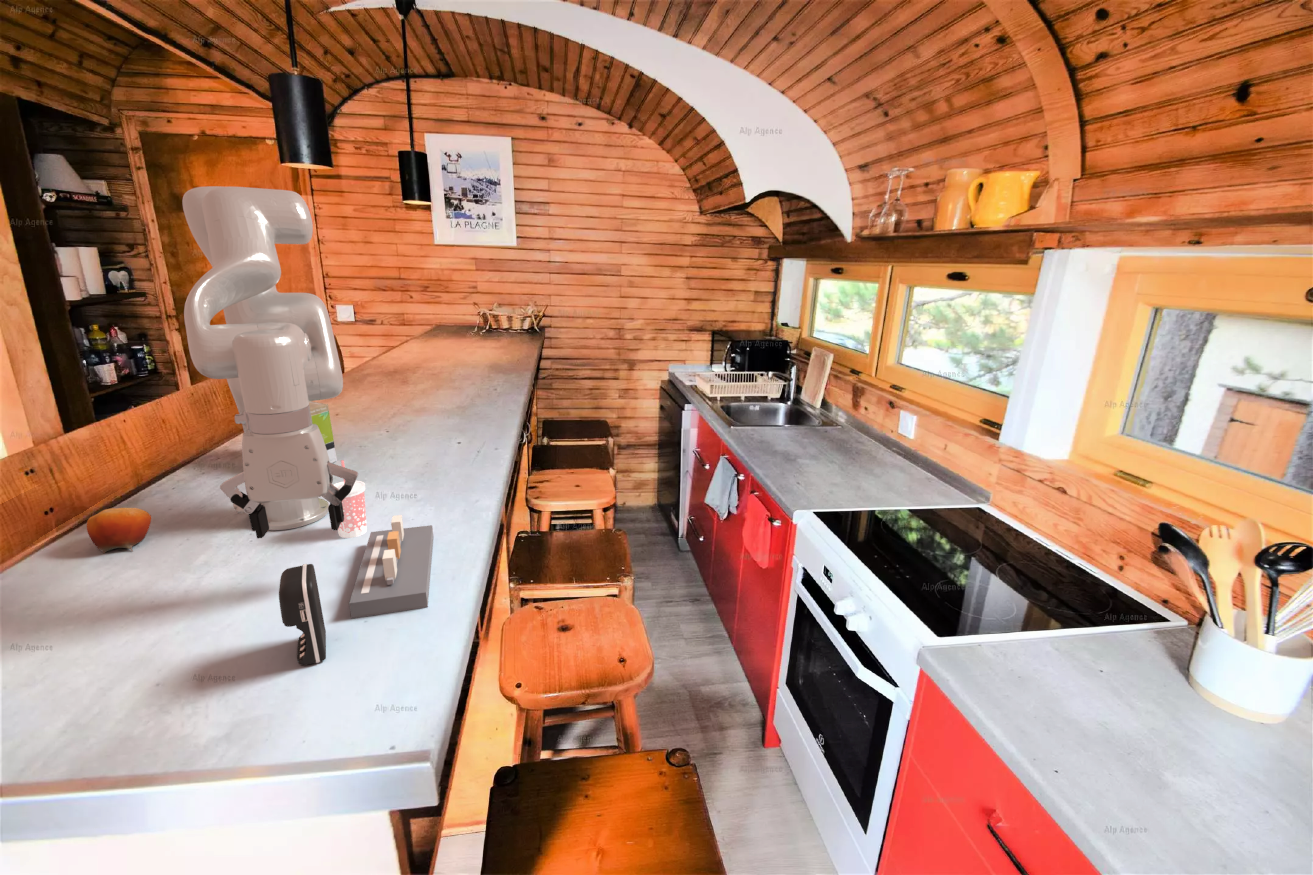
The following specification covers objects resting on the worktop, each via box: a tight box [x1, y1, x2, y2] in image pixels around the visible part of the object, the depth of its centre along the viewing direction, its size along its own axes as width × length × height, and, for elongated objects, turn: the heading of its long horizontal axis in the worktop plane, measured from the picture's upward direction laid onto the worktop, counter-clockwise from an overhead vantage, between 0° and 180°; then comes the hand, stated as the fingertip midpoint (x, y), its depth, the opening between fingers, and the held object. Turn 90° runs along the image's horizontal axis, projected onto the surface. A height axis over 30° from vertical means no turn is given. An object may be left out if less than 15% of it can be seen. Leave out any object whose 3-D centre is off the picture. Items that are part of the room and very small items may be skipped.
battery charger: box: [278, 563, 327, 666], centre depth 72 cm, size 7×4×11 cm, turn 29°
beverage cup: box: [332, 459, 368, 539], centre depth 103 cm, size 6×6×14 cm
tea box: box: [309, 401, 338, 464], centre depth 134 cm, size 15×10×15 cm, turn 68°
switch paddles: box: [382, 514, 404, 585], centre depth 91 cm, size 1×16×4 cm, turn 18°
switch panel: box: [348, 525, 434, 619], centre depth 92 cm, size 10×22×3 cm, turn 18°
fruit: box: [86, 507, 152, 554], centre depth 97 cm, size 8×8×8 cm
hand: (300, 530), depth 86 cm, fingers open, 9 cm apart
